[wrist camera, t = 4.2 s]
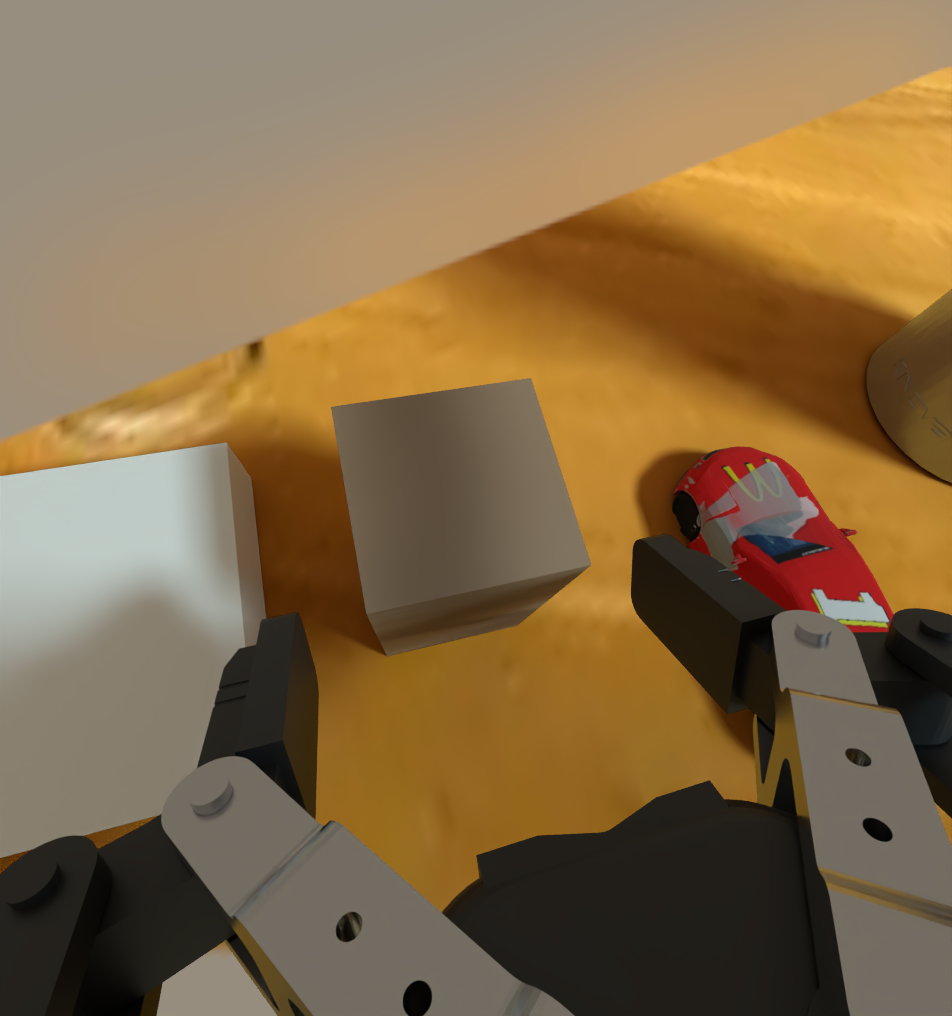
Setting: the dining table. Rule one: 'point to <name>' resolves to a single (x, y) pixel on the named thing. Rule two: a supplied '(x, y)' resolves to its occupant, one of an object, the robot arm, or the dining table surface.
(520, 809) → the dining table surface
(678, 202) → the dining table surface
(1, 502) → the riser
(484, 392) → the walnut block
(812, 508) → the race car
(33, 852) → the robot arm
